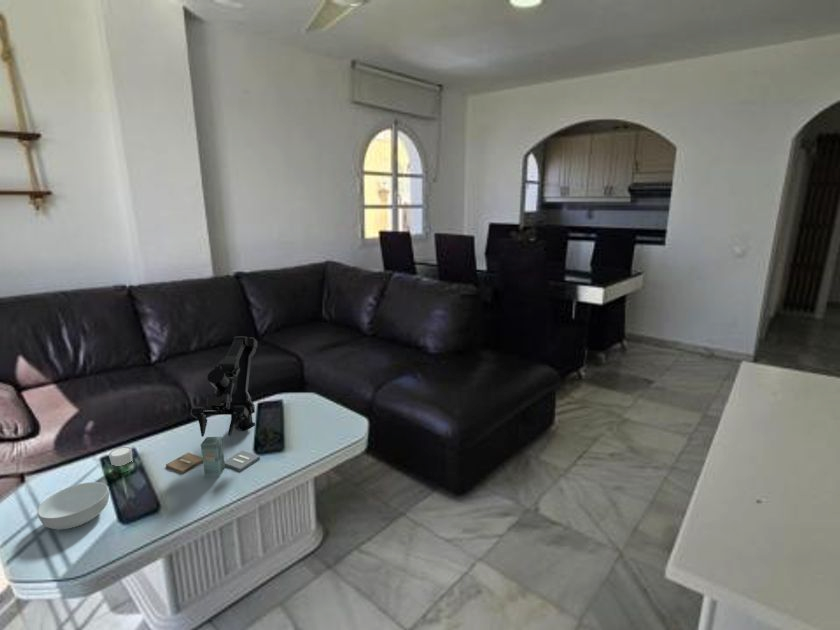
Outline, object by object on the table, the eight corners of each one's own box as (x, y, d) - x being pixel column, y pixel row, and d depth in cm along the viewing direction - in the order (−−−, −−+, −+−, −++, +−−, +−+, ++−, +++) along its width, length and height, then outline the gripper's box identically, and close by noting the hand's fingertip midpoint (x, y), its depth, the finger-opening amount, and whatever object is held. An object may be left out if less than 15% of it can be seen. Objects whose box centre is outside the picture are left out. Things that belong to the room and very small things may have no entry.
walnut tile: (188, 454, 171) (188, 452, 171) (205, 460, 167) (204, 457, 167) (166, 467, 163) (165, 464, 163) (183, 473, 160) (182, 470, 159)
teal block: (210, 468, 162) (206, 437, 159) (225, 468, 163) (221, 436, 160) (204, 477, 157) (200, 444, 154) (219, 476, 158) (215, 444, 155)
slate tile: (242, 452, 173) (241, 449, 172) (259, 458, 169) (259, 455, 168) (222, 464, 165) (222, 461, 164) (240, 471, 161) (240, 468, 161)
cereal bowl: (101, 494, 149) (97, 475, 147) (120, 516, 139) (116, 495, 137) (35, 521, 136) (30, 501, 134) (51, 548, 126) (45, 526, 124)
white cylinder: (139, 464, 165) (136, 446, 164) (125, 475, 159) (122, 457, 157) (121, 463, 166) (118, 445, 164) (107, 474, 159) (103, 456, 158)
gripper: (189, 386, 162) (179, 429, 154) (242, 385, 163) (235, 428, 155) (200, 397, 171) (191, 439, 163) (251, 396, 172) (245, 437, 165)
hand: (215, 435), depth 161 cm, fingers open, 9 cm apart
